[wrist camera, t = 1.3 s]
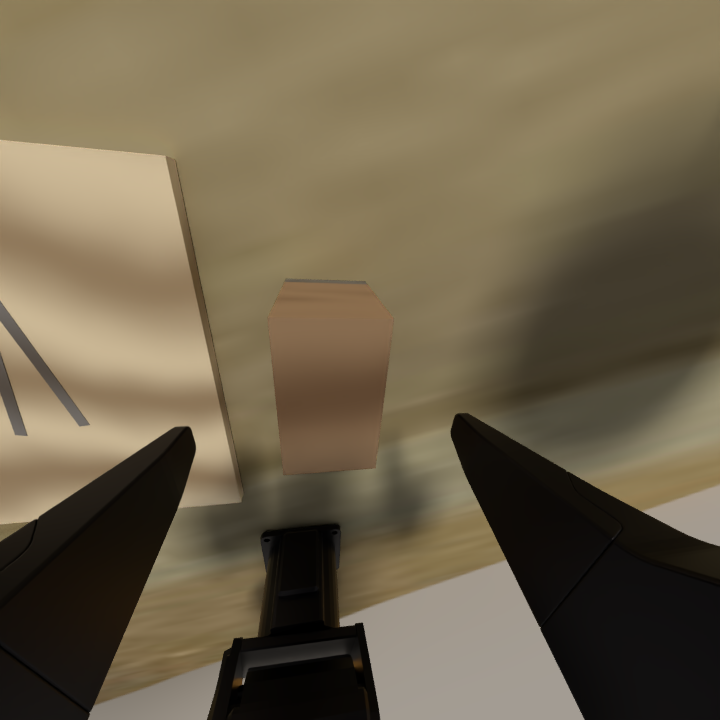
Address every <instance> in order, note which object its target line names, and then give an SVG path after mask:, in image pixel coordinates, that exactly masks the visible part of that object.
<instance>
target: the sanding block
mask: <svg viewBox="0 0 720 720" xmlns="http://www.w3.org/2000/svg"><path fill="white" fill-rule="evenodd" d="M393 322H394V318H393V317H392V316H391V315H390V313H389V312H388V311H387V309H386V308H385V307H384V305H383V304H382V303H381V301H380V300H379V299H378V298H377V296H376V295H375V294H374V292H373V291H372V290H371V288H370V287H369V286H368V284H367V283H366V282H365V281H339V280H309V279H286V280H285V282H284V284H283V286H282V288H281V290H280V293H279V295H278V297H277V299H276V301H275V303H274V305H273V307H272V309H271V311H270V314H269V316H268V327H269V337H270V347H271V357H272V367H273V376H274V386H275V396H276V406H277V416H278V426H279V436H280V446H281V456H282V466H283V475H293V474H306V473H319V472H332V471H345V470H359V469H372V468H376V460H377V452H378V443H379V435H380V427H381V419H382V411H383V403H384V395H385V387H386V379H387V371H388V363H389V355H390V347H391V338H392V330H393Z"/></svg>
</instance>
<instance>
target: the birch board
mask: <svg viewBox="0 0 720 720" xmlns="http://www.w3.org/2000/svg"><path fill="white" fill-rule="evenodd" d="M177 426H189V427H190V428H191V430H192V433H193V436H194V440H195V443H196V453H195V457H194V460H193V463H192V466H191V470H190V473H189V476H188V480H187V483H186V486H185V490H184V493H183V496H182V499H181V501H180V504H179V506H178V508H186V507H197V506H208V505H219V504H231V503H241V501H242V497H243V493H244V492H243V487H242V482H241V477H240V472H239V468H238V463H237V458H236V453H235V448H234V443H233V438H232V434H231V429H230V424H229V419H228V414H227V409H226V405H225V400H224V395H223V390H222V385H221V380H220V375H219V371H218V366H217V361H216V356H215V351H214V346H213V341H212V337H211V332H210V327H209V322H208V317H207V312H206V308H205V303H204V298H203V293H202V288H201V283H200V278H199V274H198V269H197V264H196V259H195V254H194V249H193V245H192V240H191V235H190V230H189V225H188V220H187V215H186V211H185V206H184V201H183V196H182V191H181V186H180V182H179V177H178V172H177V167H176V162H175V159H172V158H170V157H167V156H163V155H153V154H142V153H132V152H121V151H111V150H100V149H90V148H79V147H68V146H58V145H47V144H37V143H26V142H16V141H5V140H0V524H8V523H19V522H30V521H33V520H34V519H38V517H39V516H40V515H42V514H43V513H45V512H46V511H48V510H49V509H51V508H52V507H54V506H55V505H57V504H58V503H60V502H61V501H63V500H64V499H66V498H68V497H69V496H71V495H72V494H74V493H75V492H77V491H78V490H80V489H81V488H83V487H84V486H86V485H87V484H89V483H90V482H92V481H93V480H95V479H96V478H98V477H99V476H101V475H102V474H104V473H105V472H107V471H108V470H110V469H111V468H113V467H114V466H116V465H117V464H119V463H120V462H122V461H123V460H125V459H127V458H128V457H130V456H131V455H133V454H134V453H136V452H137V451H139V450H140V449H142V448H143V447H145V446H146V445H148V444H149V443H151V442H152V441H154V440H155V439H157V438H158V437H160V436H161V435H163V434H164V433H166V432H167V431H169V430H170V429H172V428H174V427H177Z"/></svg>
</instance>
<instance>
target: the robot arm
mask: <svg viewBox="0 0 720 720" xmlns="http://www.w3.org/2000/svg"><path fill="white" fill-rule="evenodd" d="M451 438H452V441H453V443H454V446H455V449H456V452H457V454H458V457H459V460H460V462H461V465H462V468H463V470H464V473H465V475H466V478H467V480H468V482H469V484H470V486H471V488H472V490H473V492H474V494H475V496H476V498H477V500H478V502H479V504H480V506H481V508H482V510H483V512H484V515H485V517H486V519H487V521H488V523H489V525H490V527H491V529H492V531H493V533H494V535H495V537H496V539H497V541H498V543H499V545H500V547H501V549H502V551H503V553H504V555H505V557H506V559H507V562H508V564H509V566H510V568H511V570H512V572H513V574H514V575H515V578H516V580H517V582H518V584H519V586H520V588H521V590H522V592H523V594H524V596H525V598H526V600H527V602H528V604H529V606H530V609H531V611H532V613H533V615H534V617H535V619H536V621H537V623H538V625H539V626H540V627H541V628H540V629H541V632H542V633H543V636H544V638H545V639H546V642H547V644H548V646H549V648H550V650H551V652H552V654H553V656H554V658H555V660H556V662H557V664H558V666H559V668H560V670H561V672H562V674H563V676H564V678H565V680H566V683H567V684H568V686H569V689H570V691H571V693H572V695H573V697H574V699H575V701H576V703H577V705H578V707H579V709H580V711H581V713H582V715H583V717H584V719H585V720H720V546H716V545H713V544H709V543H707V542H704V541H701V540H698V539H696V538H693V537H691V536H688V535H686V534H684V533H682V532H680V531H678V530H676V529H674V528H672V527H670V526H669V525H667V524H665V523H663V522H661V521H659V520H657V519H655V518H653V517H651V516H649V515H647V514H645V513H643V512H641V511H640V510H638V509H636V508H634V507H632V506H630V505H628V504H626V503H624V502H622V501H620V500H618V499H617V498H615V497H613V496H611V495H609V494H607V493H605V492H603V491H601V490H600V489H598V488H596V487H594V486H593V485H591V484H589V483H587V482H585V481H584V480H582V479H580V478H578V477H577V476H575V475H573V474H572V473H570V472H567V471H566V470H565V469H563V468H561V467H559V466H558V465H556V464H554V463H553V462H551V461H549V460H547V459H546V458H544V457H542V456H540V455H539V454H537V453H535V452H534V451H532V450H530V449H528V448H527V447H525V446H523V445H522V444H520V443H518V442H516V441H515V440H513V439H511V438H509V437H508V436H506V435H504V434H503V433H501V432H499V431H497V430H496V429H494V428H492V427H490V426H489V425H487V424H485V423H484V422H482V421H480V420H478V419H477V418H475V417H473V416H472V415H470V414H468V413H458V414H456V415H455V417H454V420H453V424H452V428H451ZM195 453H196V443H195V440H194V436H193V433H192V430H191V428H190V427H189V426H177V427H174V428H172V429H170V430H169V431H167V432H166V433H164V434H163V435H161V436H160V437H158V438H157V439H155V440H154V441H152V442H151V443H149V444H148V445H146V446H145V447H143V448H142V449H140V450H139V451H137V452H136V453H134V454H133V455H131V456H130V457H128V458H127V459H125V460H123V461H122V462H120V463H119V464H117V465H116V466H114V467H113V468H111V469H110V470H108V471H107V472H105V473H104V474H102V475H101V476H99V477H98V478H96V479H95V480H93V481H92V482H90V483H89V484H87V485H86V486H84V487H83V488H81V489H80V490H78V491H77V492H75V493H74V494H72V495H71V496H69V497H68V498H66V499H64V500H63V501H61V502H60V503H58V504H57V505H55V506H54V507H52V508H51V509H49V510H48V511H46V512H45V513H43V514H42V515H40V516H39V517H38V519H34V520H33V521H31V522H30V523H28V524H27V525H25V526H24V527H22V528H21V529H19V530H18V531H16V532H14V533H13V534H11V535H10V536H8V537H7V538H5V539H4V540H2V541H1V542H0V720H88V718H89V715H90V713H89V712H90V711H91V710H92V708H93V705H94V703H95V701H96V698H97V696H98V694H99V691H100V689H101V687H102V684H103V682H104V680H105V677H106V675H107V673H108V670H109V668H110V666H111V663H112V661H113V659H114V656H115V654H116V652H117V649H118V647H119V645H120V642H121V640H122V638H123V635H124V633H125V631H126V628H127V626H128V624H129V621H130V619H131V617H132V614H133V612H134V609H135V607H136V605H137V602H138V600H139V598H140V595H141V593H142V591H143V588H144V586H145V584H146V581H147V579H148V577H149V574H150V572H151V570H152V567H153V565H154V563H155V560H156V558H157V556H158V553H159V551H160V549H161V546H162V544H163V542H164V539H165V537H166V535H167V532H168V530H169V528H170V525H171V523H172V521H173V518H174V516H175V513H176V511H177V509H178V506H179V504H180V501H181V499H182V496H183V493H184V490H185V486H186V483H187V480H188V476H189V473H190V470H191V466H192V463H193V460H194V457H195ZM340 535H341V531H340V526H339V525H326V526H316V527H307V528H298V529H288V530H279V531H270V532H264V533H263V534H262V535H261V546H262V552H263V557H264V562H265V568H266V580H265V587H264V595H263V602H262V609H261V616H260V624H259V631H258V637H256V638H248V639H243V637H240V638H234V640H233V644H232V647H231V648H230V649H228V650H226V651H224V654H223V659H222V664H221V669H220V673H219V678H218V682H217V686H216V690H215V694H214V698H213V701H212V704H211V708H210V711H209V714H208V718H207V720H380V714H379V708H378V702H377V696H376V691H375V685H374V680H373V674H372V669H371V663H370V658H369V653H368V648H367V642H366V637H365V631H364V626H363V623H356V624H355V625H353V626H346V627H340V622H339V605H338V588H337V571H336V570H337V569H338V568H339V556H340ZM243 678H246V679H245V683H244V685H242V680H243Z"/></svg>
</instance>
